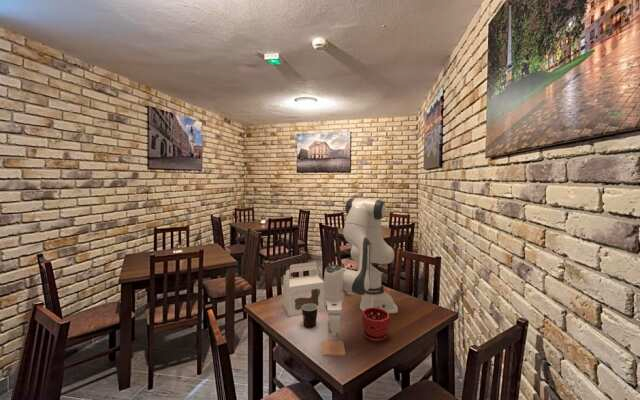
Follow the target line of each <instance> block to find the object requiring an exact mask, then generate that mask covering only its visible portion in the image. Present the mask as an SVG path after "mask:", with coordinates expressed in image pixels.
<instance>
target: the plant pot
mask: <svg viewBox="0 0 640 400" xmlns="http://www.w3.org/2000/svg"><path fill="white" fill-rule="evenodd" d="M371 312H372V314H371ZM378 313H379V314H380V315H378ZM373 316H375V318H373ZM361 321H362V326H363V327H362V328H363V335H364V337H365V338H367V339H368V340H370V341H373V342H382V341H384V340H385V339H386V338H388V337H387V336H388V329H389V326H390V314H388V312H387V311H385V310H383V309H380V308H367V309H365V310H364V311H363V310H362V317H361Z"/></svg>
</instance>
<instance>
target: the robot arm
mask: <svg viewBox="0 0 640 400" xmlns="http://www.w3.org/2000/svg"><path fill="white" fill-rule="evenodd" d="M344 209H345V213H346V215H347V216H346V218H345V221H344V225H343V226H344V227H343V231H342V234H343V238H344V239H345V241H346V242H347V243H349V244H350V245H352V247H351V248H350V257H351V259H352V260H353V261H354V262H355V263H357V265H358V269H357V270H358V271H354V270H350V269H349V268H345V267H342V266H341V265H340V264H330V265H328V266H326V268H325V270H324V273H323V275H324V276H323V280H324V309H325V310H326V314H328V321H329V323H330V330H331V332H332V335H333V336H335V335H336V332H338V331H339V332H340V328H341V316H342V315H341V314H342V313H343V306H344V293H343V290H345V291H346V292H347V291H351V292H353V293H356V295H359V296H361V298H360V299H361V300H360V305H359V309H360V310H361V311H362V312H363V311H364V310H365V309H367V308H380V309H383V310H385V311H387V312H388V314H389V315H390V314H396V313H398V312H399V309H398V305H397V304H396V303H395V302H394V299H393V297H392V296H391V295H390V294H389V293H388V292H387V288H386V287H385V286H384V285H383V284H382V273H381V270H379V269H378V268H376V267H374V265H372V264H381V265H385V264H391V263H392V262H393V261H394V259H395V251H394V248H392V246H391V245H389V244H388V243H387V242H386V241H385V240H384V238H383V235H382V219H383V218H384V217H385V215H386V214H387V206H386V203H385V202H384V201H383V200H381V199H373V198H367V197H366V198H359V197H358V198H356V197H351V198H349V199H348V200H347V201H346V203H345V208H344ZM371 314H372V312H371ZM378 315H380V314H379V313H378Z"/></svg>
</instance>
